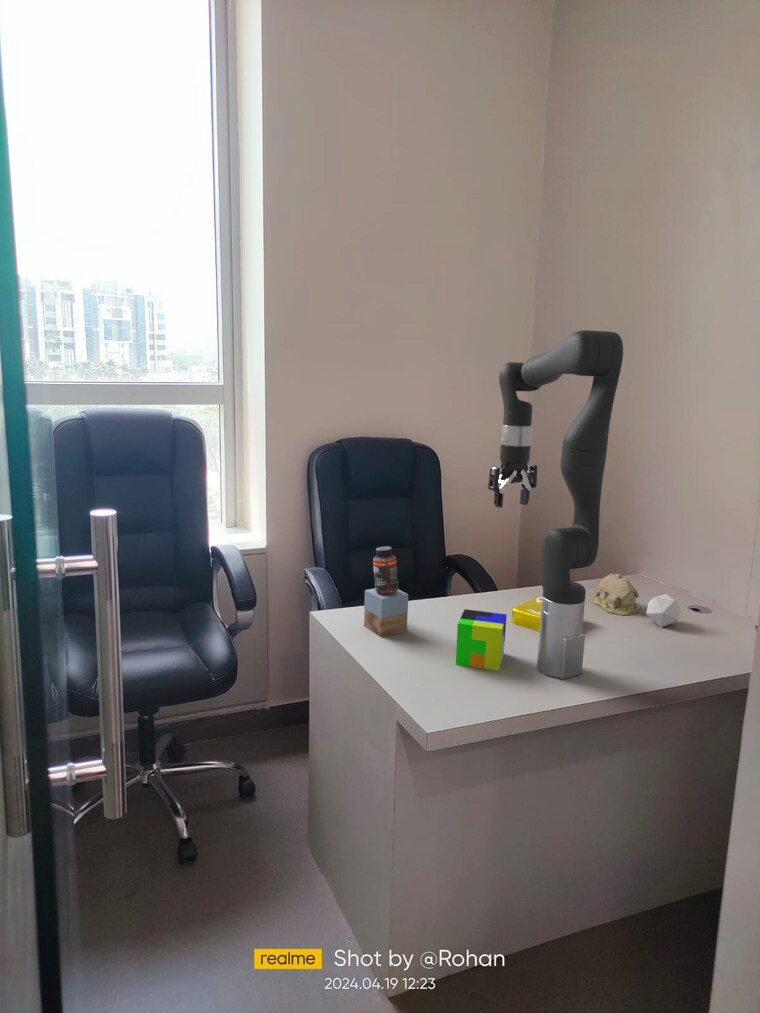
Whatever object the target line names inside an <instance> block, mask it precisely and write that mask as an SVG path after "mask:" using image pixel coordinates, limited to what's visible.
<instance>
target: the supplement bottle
mask: <svg viewBox="0 0 760 1013" xmlns="http://www.w3.org/2000/svg"><path fill="white" fill-rule="evenodd" d="M375 553H376V554H375V556H374V557H373V559H372V560H373V561H372V564H373V566H372V567H373V574H374V575H373V576H374V578H373V579H374V588H375V590H376V592H377V593H380V594H390V593H394V592H396V591H397V590H398V589H399V579H398V578H399V577H398V564H397V557H396V556H395V555H394V554H393V549H392V547H391V546H387V545H386V546H378V547H377V548H375Z"/></svg>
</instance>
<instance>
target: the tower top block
mask: <svg viewBox="0 0 760 1013" xmlns="http://www.w3.org/2000/svg"><path fill="white" fill-rule="evenodd" d="M363 605H364V606H363V608H364V609H363V610H365V609H366V610H368V611H369V612H371V613H373V614H375V615H376V616H378V617H380V618H386V617H390V616H395V615H400V614H405V613H408V611H409V610H408V609H409V593H407V592H404V591H403V590H400V589H399V588H398V590H397V591H396V592H394V593H390V594H380V593H377V592H376V590H375V587H374V588H370V589H365V590H364V604H363Z"/></svg>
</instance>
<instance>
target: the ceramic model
mask: <svg viewBox="0 0 760 1013" xmlns="http://www.w3.org/2000/svg"><path fill="white" fill-rule="evenodd" d="M598 589H599V590H600V591H596V592H595V593H594V595H593V602H594V603H595V604H596V605H598V606H600V607H601V608H603V610H605V611H606V612H609V613H611V614H615V615H620V616H629V615H631V613H632V614H635V613H638V612H639V611H640V605H639V604H638V603H637V598H640V594H639V592H638V590H637V588H636V587H635V586H634V585H633V584H632V583H631V582H630V580H629V579H627V578H624V577H623V575H622V573H615V574H614V573H609V574H608V575H607V576H604V577H603V578H602V580H601V581H599V584H598ZM634 612H635V613H634Z"/></svg>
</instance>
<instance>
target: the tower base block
mask: <svg viewBox="0 0 760 1013" xmlns="http://www.w3.org/2000/svg"><path fill="white" fill-rule="evenodd" d="M363 617H364V618H363V621H364V622H363V627H364V628H366V629H368V630H369V631H371V632H373V633H374V634H376V635H377V636H379V637H380V638H381V637H386V636H390V635H395V634H399V633H405V632H408V613H405V614H400V615H395V616H390V617H386V618H380V617H378V616H376V615H375V614H373V613H371V612H369V611H368V610H366V609H364V616H363Z"/></svg>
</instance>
